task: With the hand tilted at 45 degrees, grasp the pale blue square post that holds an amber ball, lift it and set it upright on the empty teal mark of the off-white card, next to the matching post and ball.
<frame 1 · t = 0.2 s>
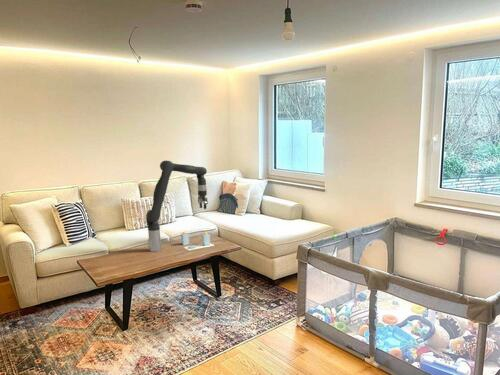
hand: (203, 208, 331), 29 cm above the table, tool pointing down, fingers open, 8 cm apart
target card: (199, 246, 315), on the table
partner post: (206, 244, 318), point 1 cm above the table, touching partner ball, target card
carried ball: (184, 233, 324), point 9 cm above the table, touching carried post
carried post: (185, 244, 325), on the table, touching carried ball
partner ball: (205, 233, 317), point 10 cm above the table, touching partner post
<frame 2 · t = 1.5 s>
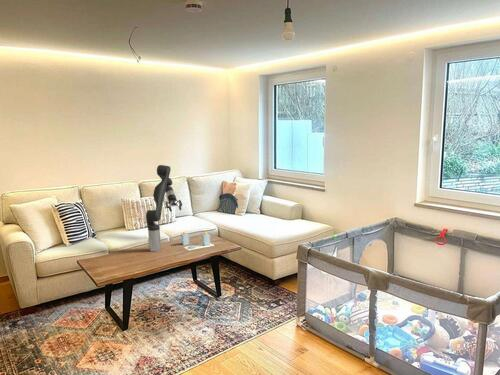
hand: (175, 210, 339), 27 cm above the table, tool tilted 45°, fingers open, 8 cm apart
nothing on the table moved.
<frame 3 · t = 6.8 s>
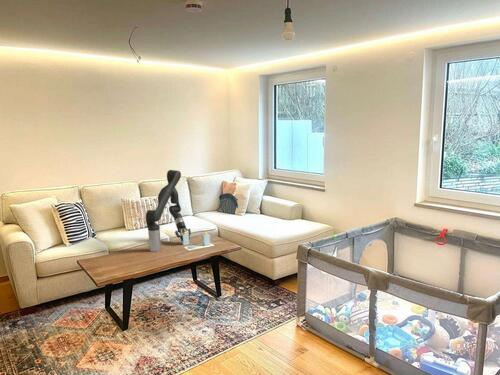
hand: (185, 240, 323), 4 cm above the table, tool tilted 45°, fingers closed on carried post, 5 cm apart
carried ball: (185, 233, 324), point 9 cm above the table, tilted 12°, touching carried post
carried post: (185, 244, 325), on the table, touching carried ball, gripper
everything else where it was.
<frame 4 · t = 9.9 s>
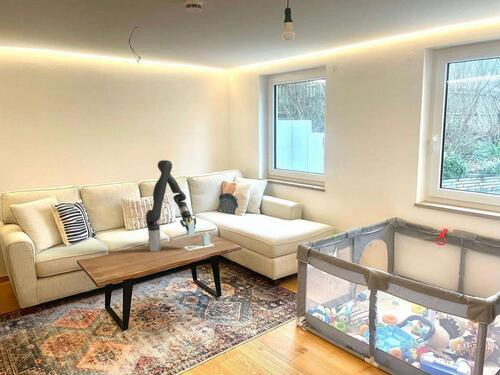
hand: (191, 229, 309), 16 cm above the table, tool tilted 45°, fingers closed on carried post, 5 cm apart
carried ball: (190, 222, 309), point 21 cm above the table, tilted 19°, touching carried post
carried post: (190, 234, 311), point 12 cm above the table, touching carried ball, gripper
everything else where it was.
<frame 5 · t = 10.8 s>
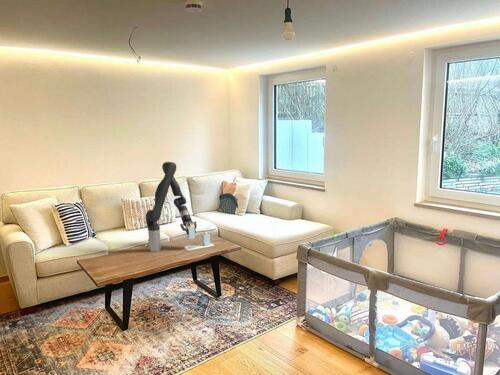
hand: (191, 233, 309), 13 cm above the table, tool tilted 45°, fingers closed on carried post, 5 cm apart
carried ball: (190, 226, 310), point 18 cm above the table, tilted 18°, touching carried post
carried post: (191, 238, 311), point 9 cm above the table, touching carried ball, gripper
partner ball: (205, 233, 317), point 10 cm above the table, tilted 14°, touching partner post
everything else where it was.
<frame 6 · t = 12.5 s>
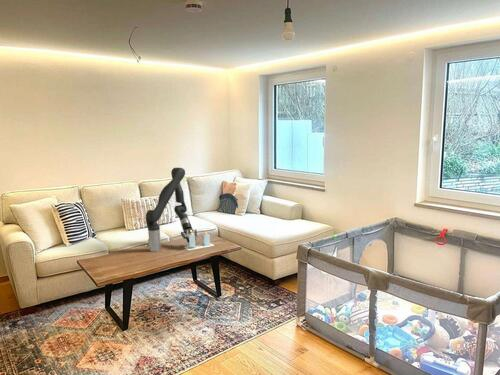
hand: (192, 241, 310), 6 cm above the table, tool tilted 45°, fingers closed on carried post, 4 cm apart
carried ball: (191, 234, 310), point 11 cm above the table, tilted 18°, touching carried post
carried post: (191, 246, 312), point 2 cm above the table, touching carried ball, gripper
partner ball: (205, 233, 317), point 10 cm above the table, touching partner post
everything else where it was.
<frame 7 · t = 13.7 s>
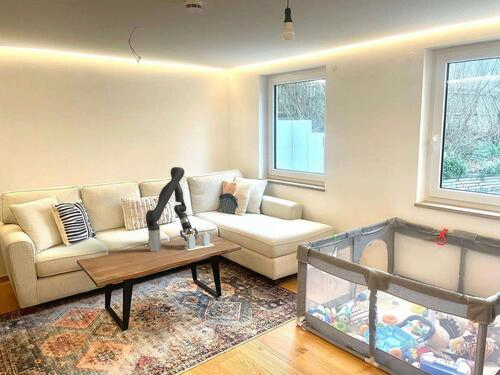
hand: (191, 239, 310), 7 cm above the table, tool tilted 45°, fingers open, 8 cm apart
carried ball: (190, 236, 311), point 10 cm above the table, tilted 27°, touching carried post
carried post: (191, 247, 312), point 1 cm above the table, touching carried ball, target card
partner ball: (205, 234, 317), point 10 cm above the table, tilted 18°, touching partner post
everything else where it was.
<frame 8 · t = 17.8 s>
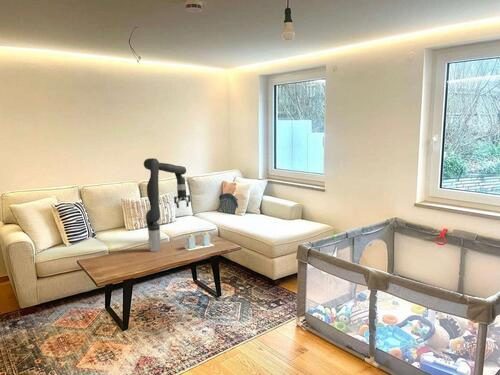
hand: (182, 207, 334), 30 cm above the table, tool pointing down, fingers open, 8 cm apart
nothing on the table moved.
at the end: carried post 0.1 cm from the target spot on the target card, point 0.5 cm above the target card's base; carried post tilted 0°; carried ball point 10.0 cm above the table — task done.
